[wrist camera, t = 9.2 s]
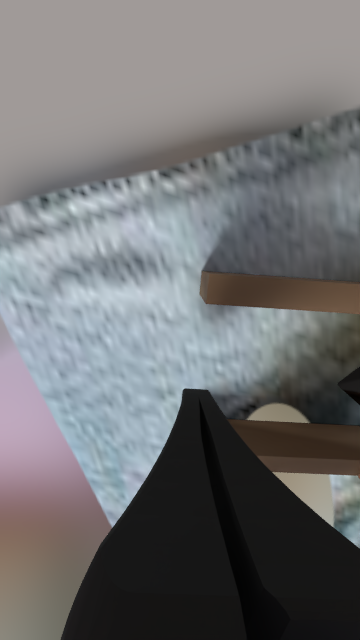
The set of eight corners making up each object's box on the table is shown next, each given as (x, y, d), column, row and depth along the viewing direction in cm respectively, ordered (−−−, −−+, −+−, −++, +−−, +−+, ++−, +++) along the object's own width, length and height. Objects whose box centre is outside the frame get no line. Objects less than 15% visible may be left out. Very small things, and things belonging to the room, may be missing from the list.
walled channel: (408, 442, 16) (464, 487, 13) (185, 432, 16) (187, 476, 13) (498, 289, 12) (613, 299, 9) (202, 268, 12) (210, 270, 8)
